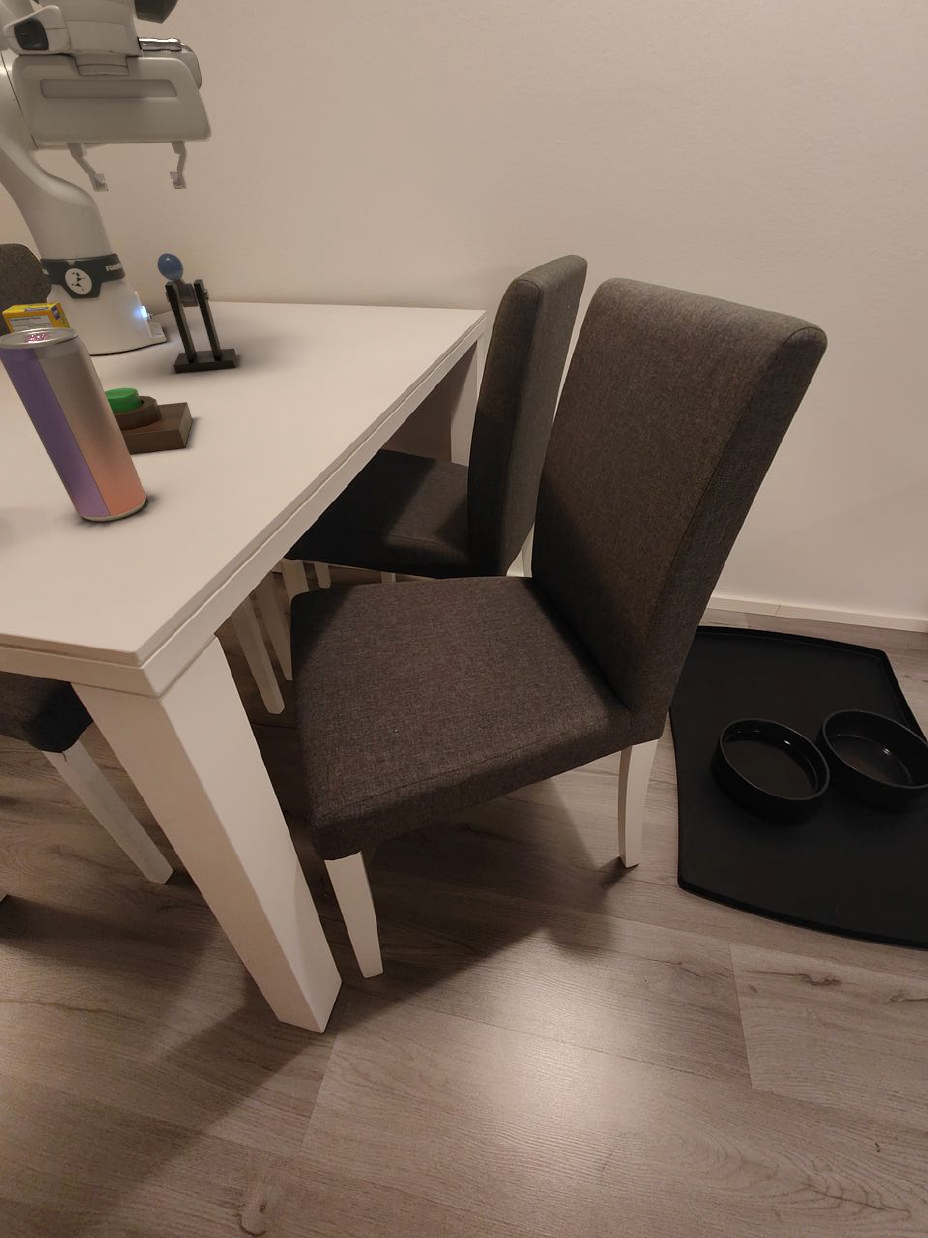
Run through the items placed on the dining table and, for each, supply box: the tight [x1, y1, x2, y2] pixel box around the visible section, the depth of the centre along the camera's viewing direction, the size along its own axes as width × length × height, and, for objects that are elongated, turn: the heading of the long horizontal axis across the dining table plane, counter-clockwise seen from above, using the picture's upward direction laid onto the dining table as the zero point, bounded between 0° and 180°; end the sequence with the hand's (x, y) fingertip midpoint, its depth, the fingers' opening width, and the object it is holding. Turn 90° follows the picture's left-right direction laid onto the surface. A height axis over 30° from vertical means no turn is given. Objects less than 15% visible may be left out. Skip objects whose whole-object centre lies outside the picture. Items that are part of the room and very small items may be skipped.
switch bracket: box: [164, 278, 237, 374], centre depth 90 cm, size 8×9×12 cm
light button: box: [104, 387, 143, 412], centre depth 65 cm, size 4×4×2 cm
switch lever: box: [156, 252, 199, 308], centre depth 83 cm, size 13×3×3 cm, turn 16°
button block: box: [113, 395, 193, 455], centre depth 66 cm, size 10×12×4 cm
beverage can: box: [0, 327, 147, 522], centre depth 49 cm, size 6×6×15 cm
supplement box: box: [2, 302, 71, 333], centre depth 81 cm, size 6×6×11 cm
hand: (142, 190), depth 72 cm, fingers open, 8 cm apart
